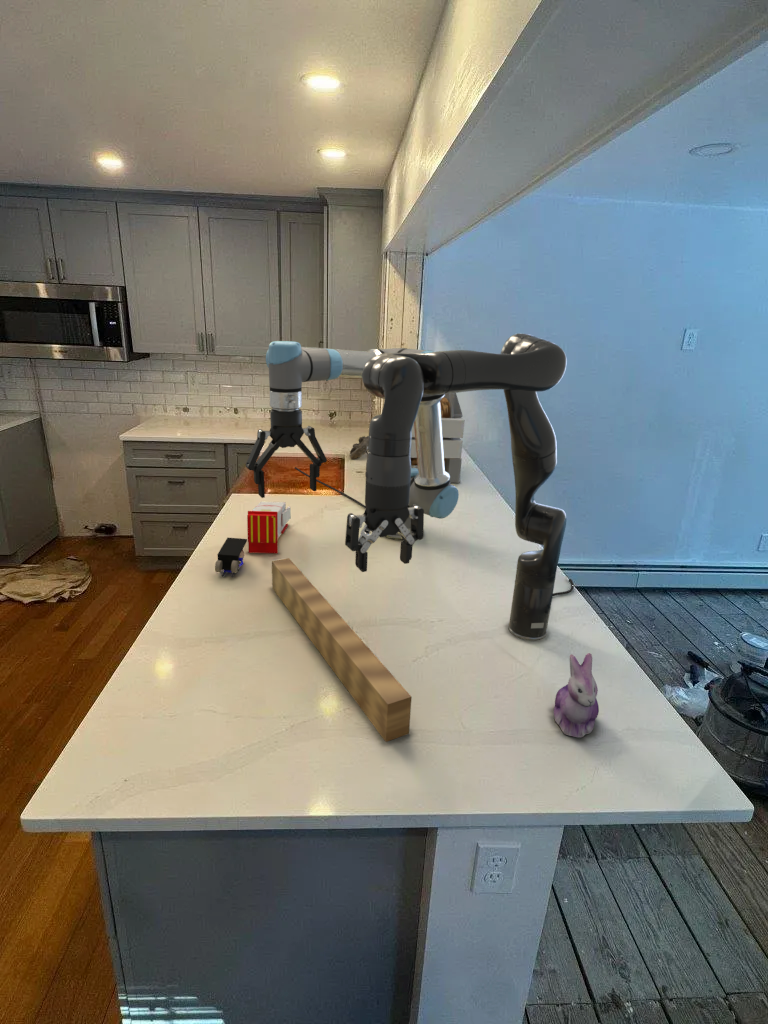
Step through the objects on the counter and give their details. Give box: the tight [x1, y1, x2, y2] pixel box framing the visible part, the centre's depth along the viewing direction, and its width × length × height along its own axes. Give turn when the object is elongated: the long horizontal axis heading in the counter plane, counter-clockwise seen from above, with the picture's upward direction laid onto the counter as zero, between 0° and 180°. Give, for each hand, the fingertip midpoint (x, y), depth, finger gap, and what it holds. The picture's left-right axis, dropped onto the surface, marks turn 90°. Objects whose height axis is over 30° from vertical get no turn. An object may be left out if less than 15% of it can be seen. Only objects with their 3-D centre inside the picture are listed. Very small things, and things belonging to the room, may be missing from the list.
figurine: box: [553, 652, 600, 738], centre depth 108 cm, size 9×10×15 cm
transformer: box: [411, 393, 465, 484], centre depth 268 cm, size 34×33×41 cm
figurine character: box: [214, 537, 248, 578], centre depth 166 cm, size 7×8×15 cm
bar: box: [271, 557, 413, 743], centre depth 130 cm, size 66×5×8 cm, turn 29°
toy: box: [246, 500, 292, 554], centre depth 190 cm, size 12×13×30 cm
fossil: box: [349, 435, 369, 460], centre depth 301 cm, size 22×10×15 cm
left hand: (287, 492), depth 143 cm, fingers open, 13 cm apart
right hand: (383, 566), depth 100 cm, fingers open, 8 cm apart
